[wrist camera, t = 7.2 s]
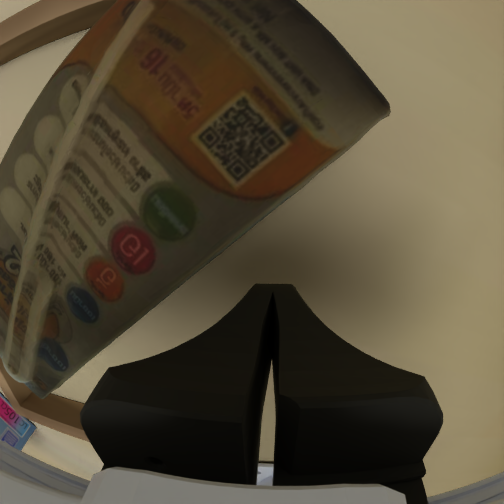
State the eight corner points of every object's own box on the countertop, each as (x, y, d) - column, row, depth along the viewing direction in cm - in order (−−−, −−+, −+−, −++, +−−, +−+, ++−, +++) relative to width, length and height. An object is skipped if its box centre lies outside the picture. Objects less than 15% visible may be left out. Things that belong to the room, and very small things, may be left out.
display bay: (226, 441, 19) (221, 469, 17) (30, 396, 21) (16, 413, 18) (205, -23, 10) (192, -48, 8) (-39, 70, 11) (-64, 70, 9)
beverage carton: (11, 251, 16) (-61, 296, 10) (235, -7, 10) (204, -92, 4) (91, 344, 18) (38, 415, 11) (358, 121, 12) (424, 109, 6)
